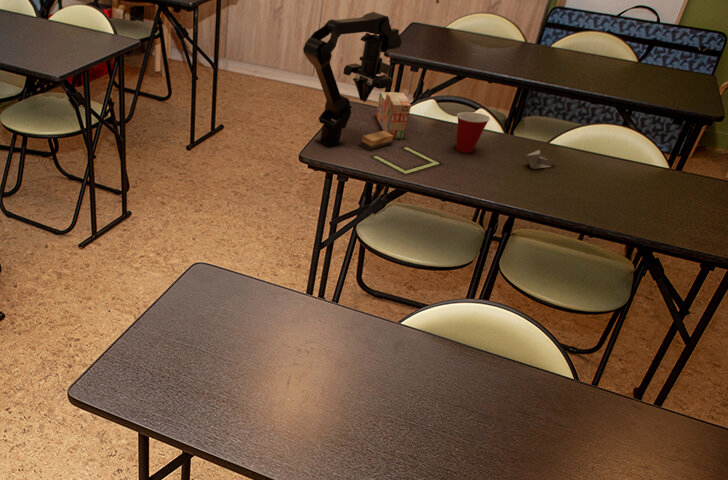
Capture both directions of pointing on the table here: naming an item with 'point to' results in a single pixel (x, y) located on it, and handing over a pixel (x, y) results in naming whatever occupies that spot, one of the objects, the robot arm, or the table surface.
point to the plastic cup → (469, 130)
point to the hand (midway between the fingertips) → (363, 100)
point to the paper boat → (538, 160)
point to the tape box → (410, 169)
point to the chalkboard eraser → (376, 140)
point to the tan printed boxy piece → (393, 113)
